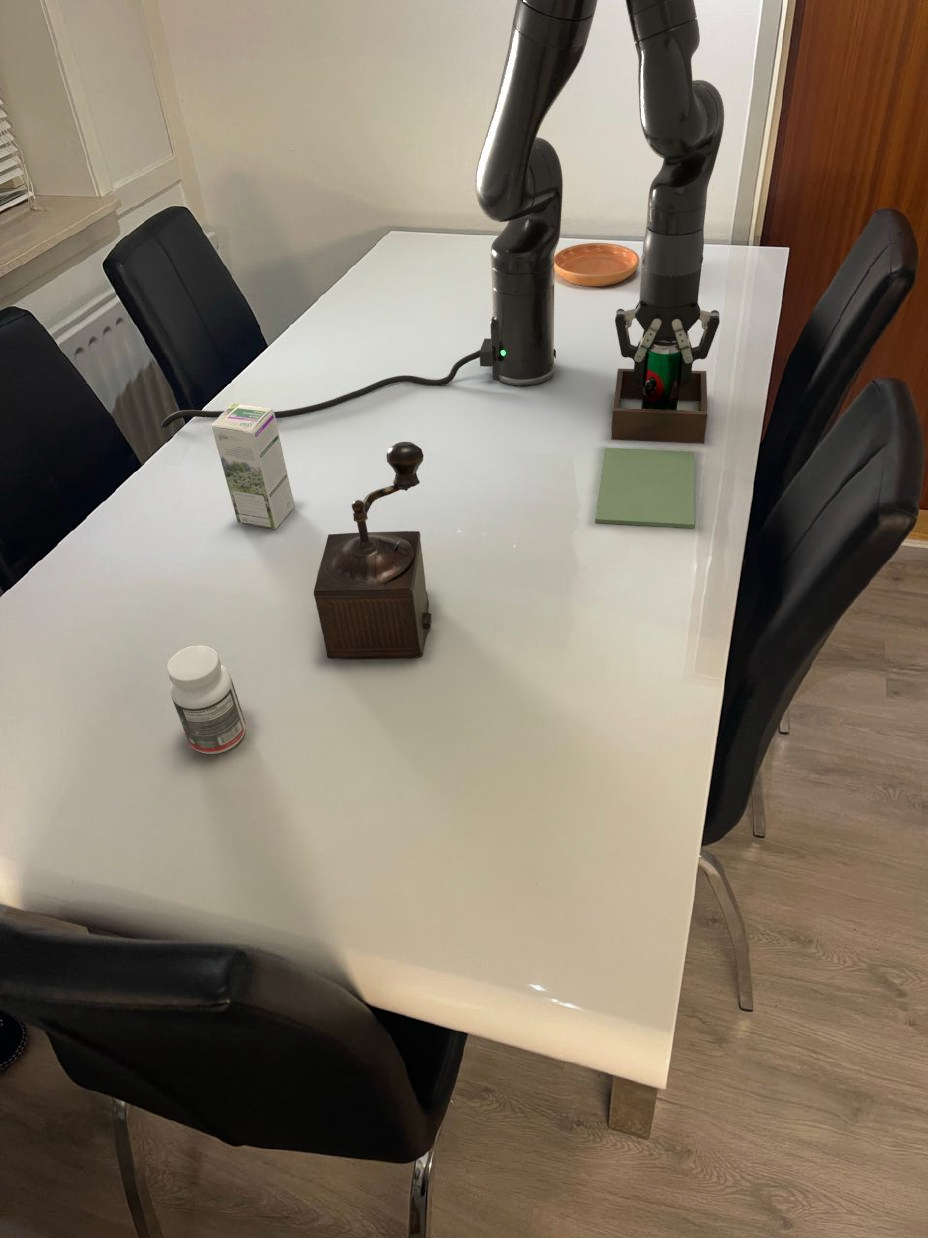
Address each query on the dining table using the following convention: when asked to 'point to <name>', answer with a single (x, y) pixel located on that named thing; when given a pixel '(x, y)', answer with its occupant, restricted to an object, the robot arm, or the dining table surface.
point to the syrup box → (254, 465)
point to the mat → (647, 488)
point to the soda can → (662, 375)
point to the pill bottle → (205, 700)
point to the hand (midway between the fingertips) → (661, 383)
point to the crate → (659, 413)
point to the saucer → (596, 263)
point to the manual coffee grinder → (375, 580)
